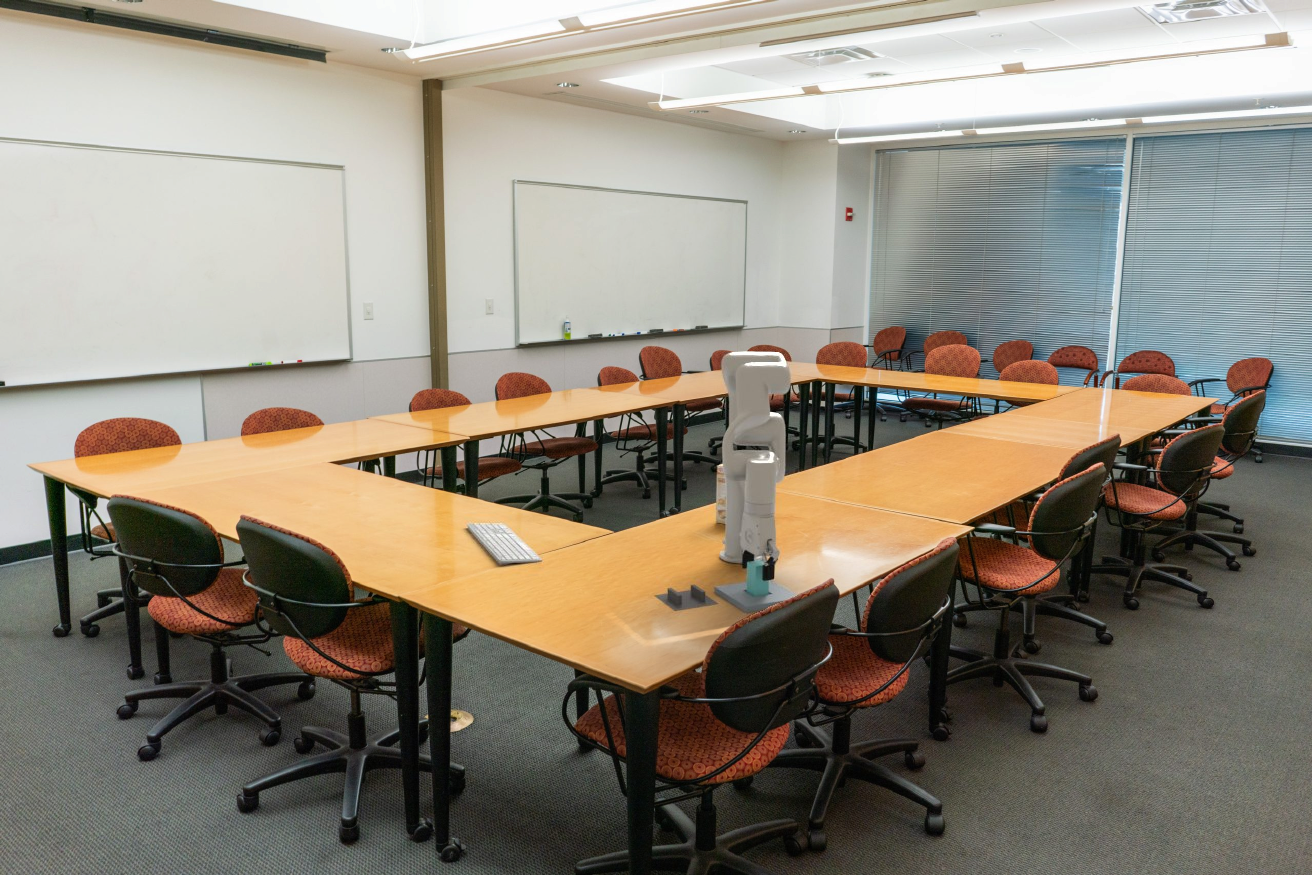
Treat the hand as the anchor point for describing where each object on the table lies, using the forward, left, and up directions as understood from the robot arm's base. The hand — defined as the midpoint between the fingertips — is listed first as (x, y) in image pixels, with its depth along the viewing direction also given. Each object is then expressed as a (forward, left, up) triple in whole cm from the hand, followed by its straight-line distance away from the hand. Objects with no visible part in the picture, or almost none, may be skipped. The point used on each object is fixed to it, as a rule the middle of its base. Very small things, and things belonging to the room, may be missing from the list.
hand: (757, 573), depth 231 cm
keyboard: (-75, -45, -8) cm, 88 cm away
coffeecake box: (-72, +35, -7) cm, 81 cm away
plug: (0, 0, -7) cm, 7 cm away
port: (+1, 0, -7) cm, 7 cm away
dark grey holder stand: (-5, -17, -7) cm, 19 cm away
